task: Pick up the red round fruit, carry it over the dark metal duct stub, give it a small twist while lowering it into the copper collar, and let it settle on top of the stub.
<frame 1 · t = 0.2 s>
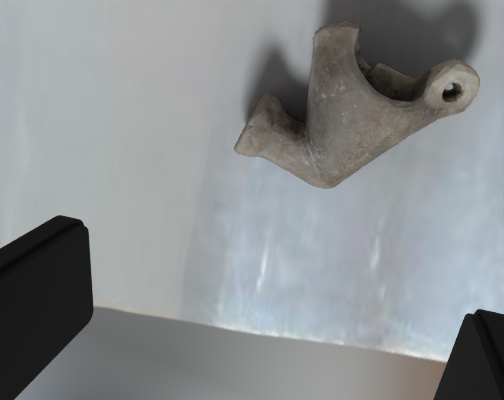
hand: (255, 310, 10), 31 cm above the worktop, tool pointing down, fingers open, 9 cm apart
grey piece: (343, 103, 38), on the worktop
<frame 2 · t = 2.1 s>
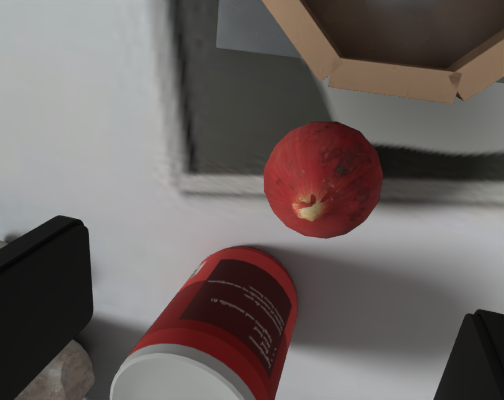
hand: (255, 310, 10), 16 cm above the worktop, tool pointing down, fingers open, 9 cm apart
canned food: (247, 291, 29), on the worktop
red round fruit: (329, 159, 24), on the worktop
grey piece: (54, 330, 36), on the worktop
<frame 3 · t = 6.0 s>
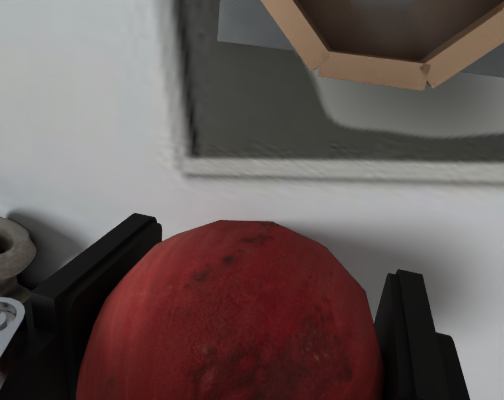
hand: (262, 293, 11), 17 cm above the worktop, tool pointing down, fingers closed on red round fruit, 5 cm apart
red round fruit: (274, 266, 12), point 16 cm above the worktop, touching gripper
grey piece: (52, 303, 39), on the worktop
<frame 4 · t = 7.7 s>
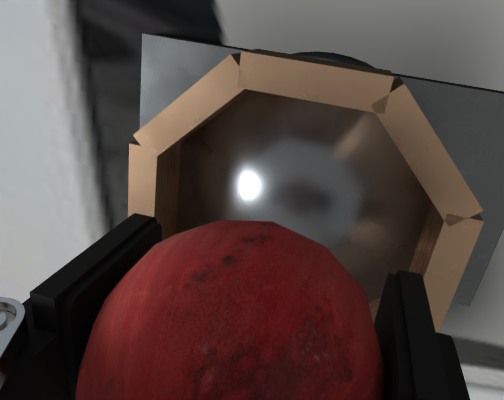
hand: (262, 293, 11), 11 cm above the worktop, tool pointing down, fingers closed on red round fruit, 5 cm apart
duct stub: (312, 165, 21), on the worktop
red round fruit: (274, 266, 12), point 10 cm above the worktop, touching gripper
when the fingers open (9 cm above the worktop, at t = 8.5 s): red round fruit drops 1 cm, resting on duct stub.
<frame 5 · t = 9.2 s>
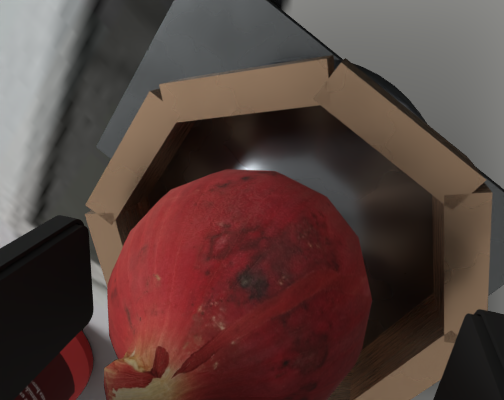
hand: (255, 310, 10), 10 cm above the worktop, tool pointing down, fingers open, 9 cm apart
canned food: (49, 344, 28), on the worktop
duct stub: (308, 180, 19), on the worktop
red round fruit: (283, 249, 13), point 6 cm above the worktop, touching duct stub
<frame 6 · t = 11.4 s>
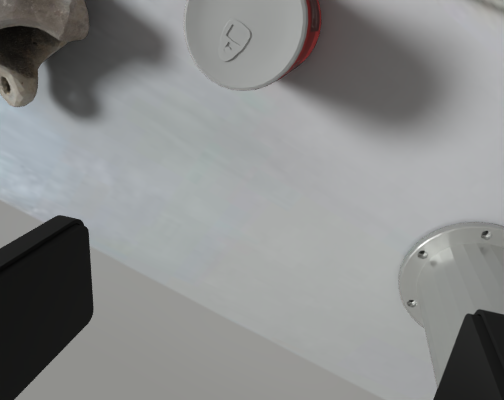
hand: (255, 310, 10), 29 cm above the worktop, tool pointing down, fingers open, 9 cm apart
canned food: (276, 25, 35), on the worktop
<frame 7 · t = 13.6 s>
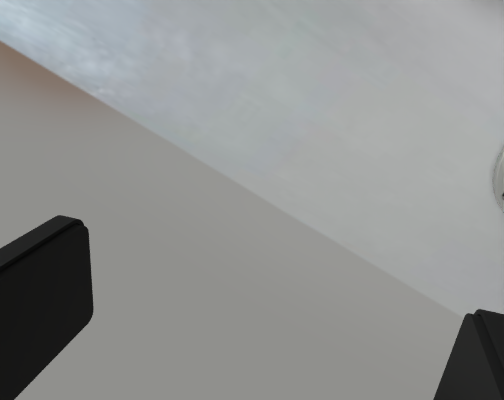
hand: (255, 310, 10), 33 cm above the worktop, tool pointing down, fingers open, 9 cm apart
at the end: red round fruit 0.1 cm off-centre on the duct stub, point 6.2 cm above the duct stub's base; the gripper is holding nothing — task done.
